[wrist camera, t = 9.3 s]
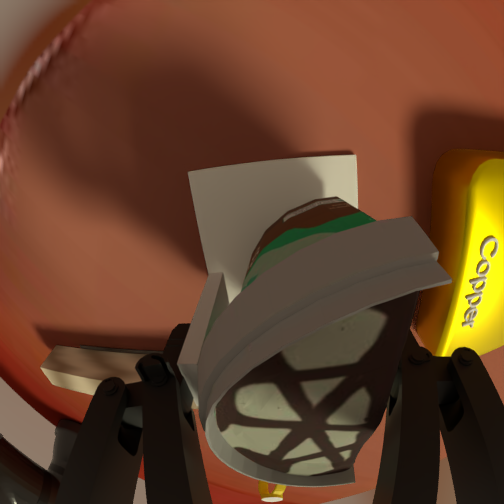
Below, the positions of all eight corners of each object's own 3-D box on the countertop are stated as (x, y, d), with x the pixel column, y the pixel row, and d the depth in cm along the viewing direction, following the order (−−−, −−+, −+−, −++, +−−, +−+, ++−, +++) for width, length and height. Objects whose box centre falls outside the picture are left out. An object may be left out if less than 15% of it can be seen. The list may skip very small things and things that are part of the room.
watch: (273, 455, 29) (274, 492, 23) (291, 458, 29) (294, 494, 24) (254, 469, 31) (253, 503, 25) (271, 472, 31) (271, 505, 26)
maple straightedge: (67, 362, 23) (52, 384, 20) (54, 341, 22) (37, 363, 19) (374, 361, 20) (385, 394, 17) (380, 336, 19) (394, 369, 16)
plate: (228, 350, 20) (227, 353, 20) (189, 171, 15) (187, 172, 14) (349, 340, 19) (350, 342, 19) (354, 154, 14) (356, 155, 13)
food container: (212, 175, 14) (110, 276, 4) (336, 167, 13) (459, 252, 4) (240, 358, 19) (225, 492, 10) (329, 352, 18) (352, 485, 9)
